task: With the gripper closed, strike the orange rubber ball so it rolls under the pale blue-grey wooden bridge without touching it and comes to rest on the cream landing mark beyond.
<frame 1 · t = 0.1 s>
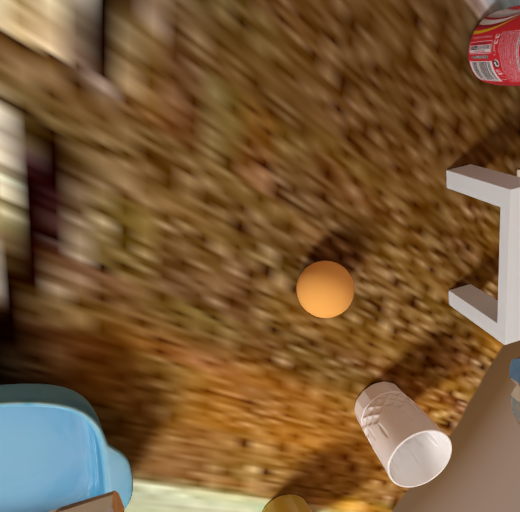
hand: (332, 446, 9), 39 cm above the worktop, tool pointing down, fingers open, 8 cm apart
bridge: (459, 238, 56), on the worktop
plant pot: (282, 511, 65), on the worktop
soda can: (491, 48, 49), on the worktop
white cup: (377, 402, 62), on the worktop
ball: (325, 289, 50), on the worktop
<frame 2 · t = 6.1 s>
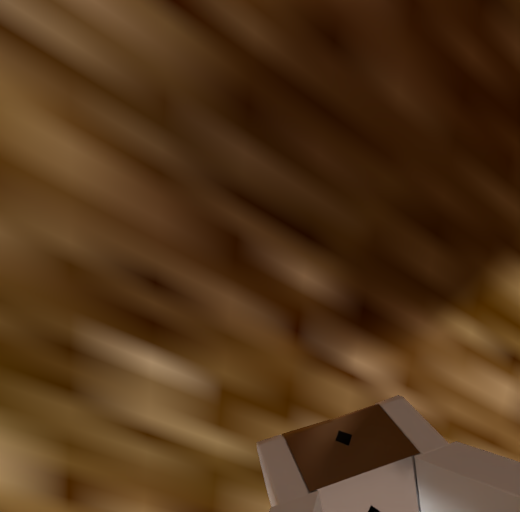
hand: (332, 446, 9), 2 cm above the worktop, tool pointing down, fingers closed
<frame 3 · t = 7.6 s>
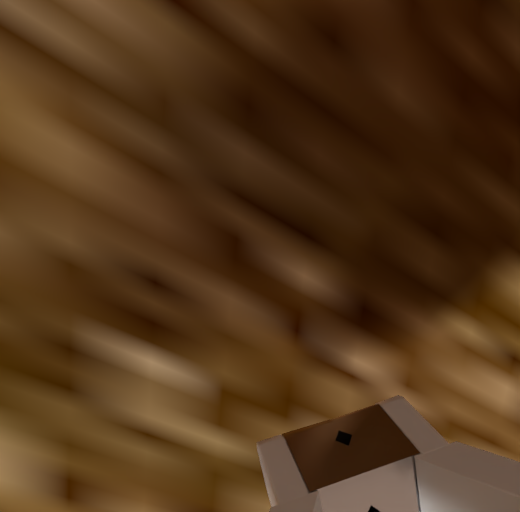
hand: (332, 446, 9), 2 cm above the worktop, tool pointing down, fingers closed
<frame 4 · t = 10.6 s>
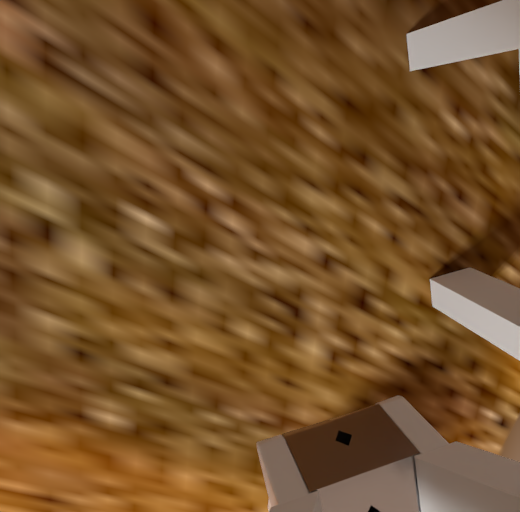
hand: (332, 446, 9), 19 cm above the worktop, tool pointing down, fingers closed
bridge: (442, 176, 30), on the worktop
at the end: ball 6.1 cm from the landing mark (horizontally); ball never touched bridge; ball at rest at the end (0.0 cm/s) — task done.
